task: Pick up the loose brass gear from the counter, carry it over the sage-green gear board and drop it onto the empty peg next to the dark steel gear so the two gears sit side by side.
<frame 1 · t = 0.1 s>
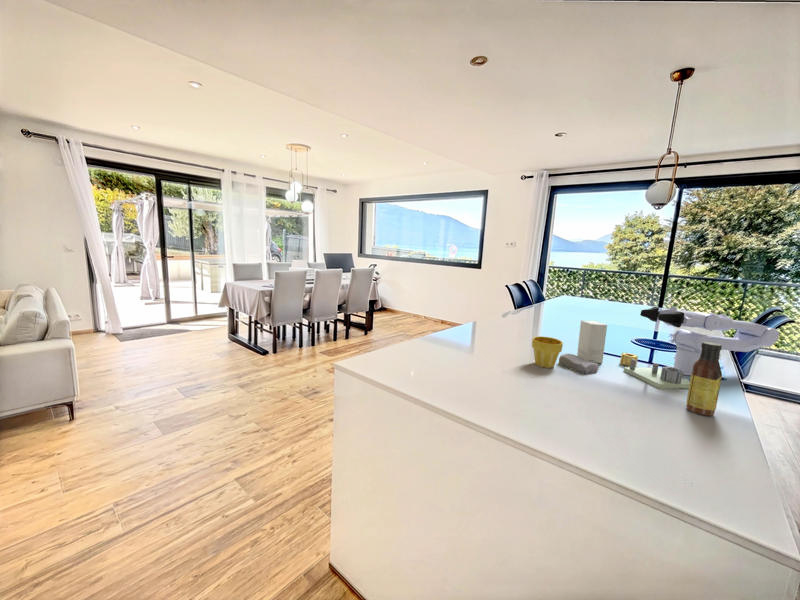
hand: (650, 314, 122), 22 cm above the table, tool horizontal, fingers open, 7 cm apart
brass gear: (628, 364, 133), on the table
stone block: (578, 368, 127), on the table
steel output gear: (670, 380, 114), resting on gear board
plant pot: (544, 365, 127), on the table
gear board: (657, 379, 118), on the table
sauce bottle: (698, 411, 95), on the table
skincare box: (588, 360, 136), on the table
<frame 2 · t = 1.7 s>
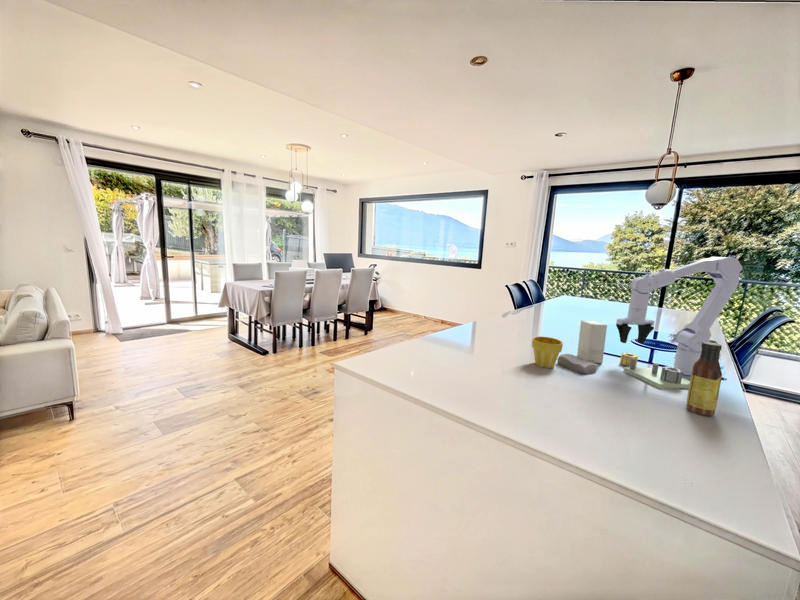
hand: (631, 342, 131), 9 cm above the table, tool pointing down, fingers open, 7 cm apart
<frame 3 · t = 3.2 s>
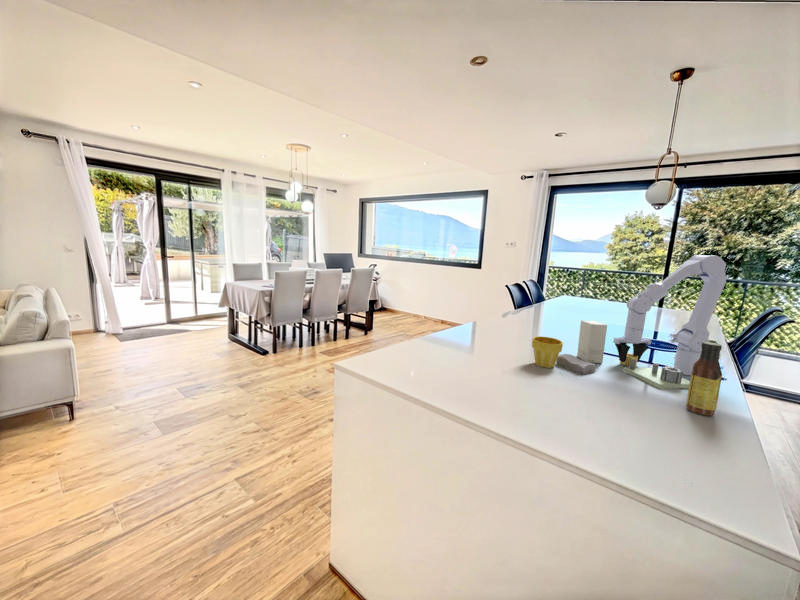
hand: (628, 361, 133), 1 cm above the table, tool pointing down, fingers closed on brass gear, 5 cm apart
brass gear: (628, 364, 133), on the table, touching gripper
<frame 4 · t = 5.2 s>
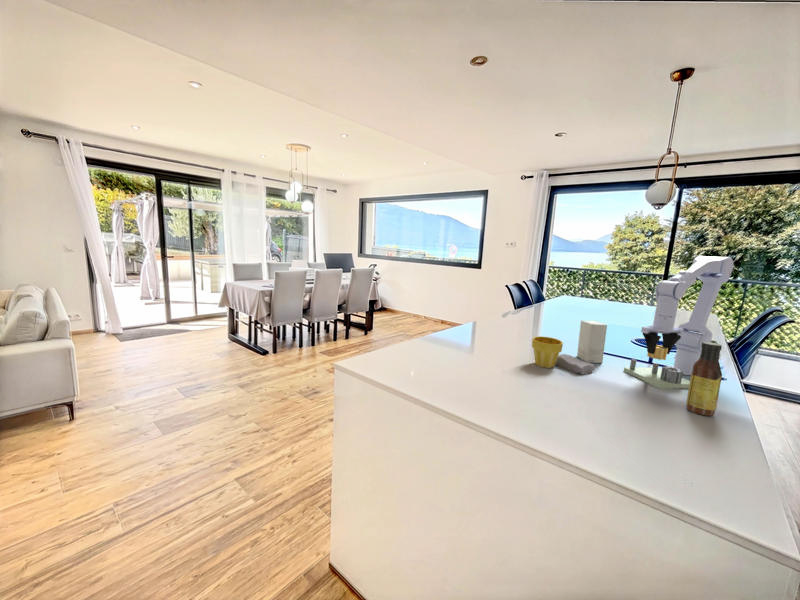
hand: (658, 353, 119), 9 cm above the table, tool pointing down, fingers closed on brass gear, 5 cm apart
brass gear: (656, 357, 119), point 7 cm above the table, touching gripper
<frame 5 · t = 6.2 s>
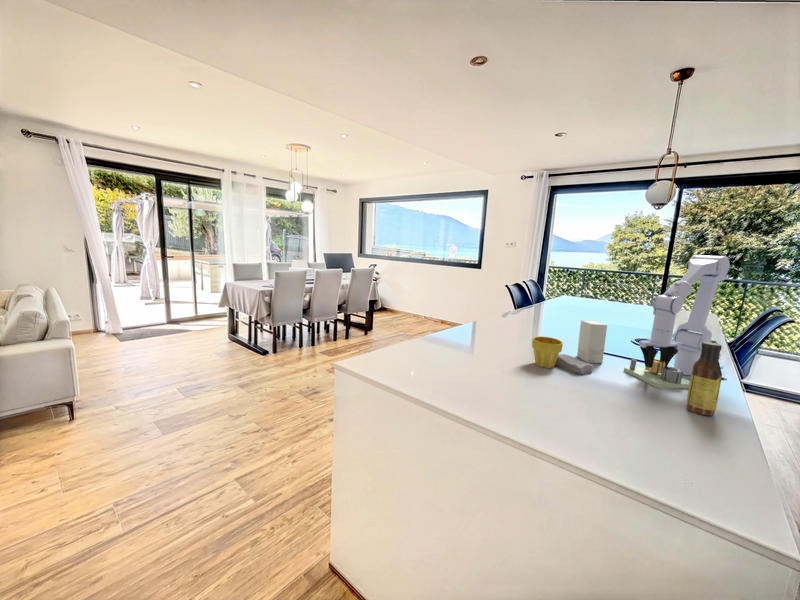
hand: (655, 366, 120), 4 cm above the table, tool pointing down, fingers closed on brass gear, 5 cm apart
brass gear: (653, 370, 120), point 2 cm above the table, touching gripper
when the fingers open (4 cm above the table, at t = 7.0 s): brass gear stays where it is, resting on gear board.
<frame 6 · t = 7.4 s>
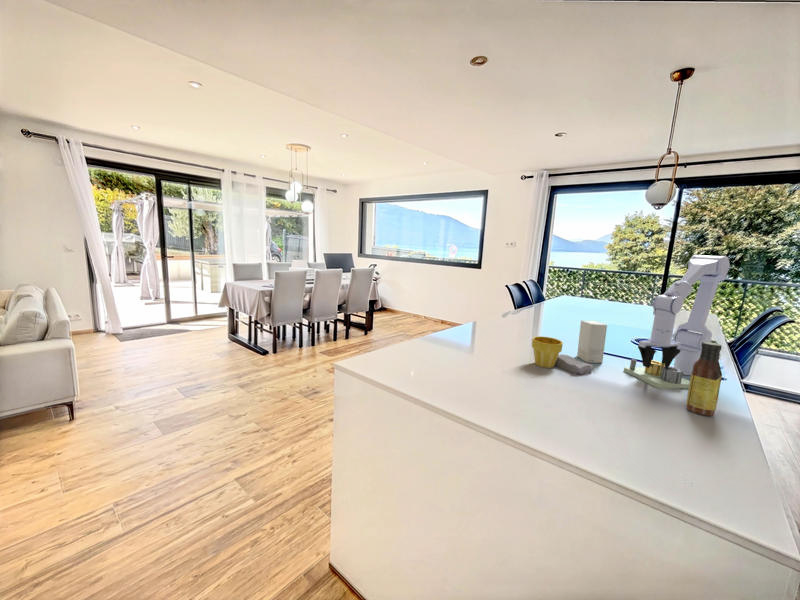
hand: (655, 366, 120), 4 cm above the table, tool pointing down, fingers open, 7 cm apart
brass gear: (653, 373, 120), point 1 cm above the table, touching gear board
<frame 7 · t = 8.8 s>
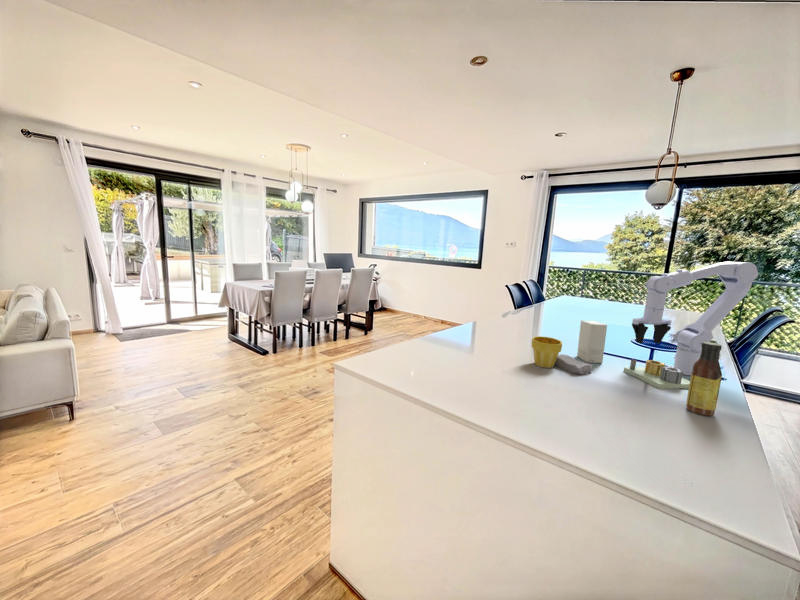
hand: (647, 342, 129), 10 cm above the table, tool pointing down, fingers open, 7 cm apart
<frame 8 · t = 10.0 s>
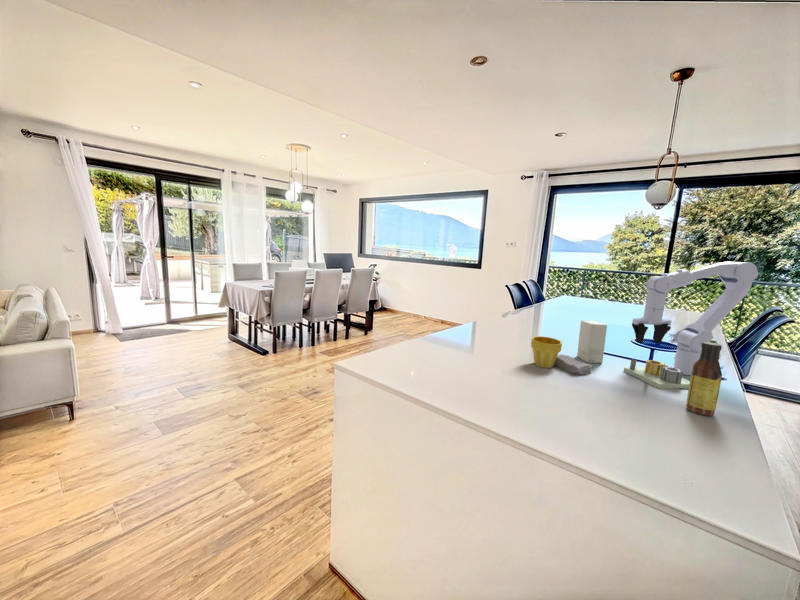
hand: (647, 342, 129), 10 cm above the table, tool pointing down, fingers open, 7 cm apart
at the end: brass gear 0.3 cm from the target spot on the gear board, point 1.5 cm above the gear board's base; brass gear tilted 0°; the gripper is holding nothing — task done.
